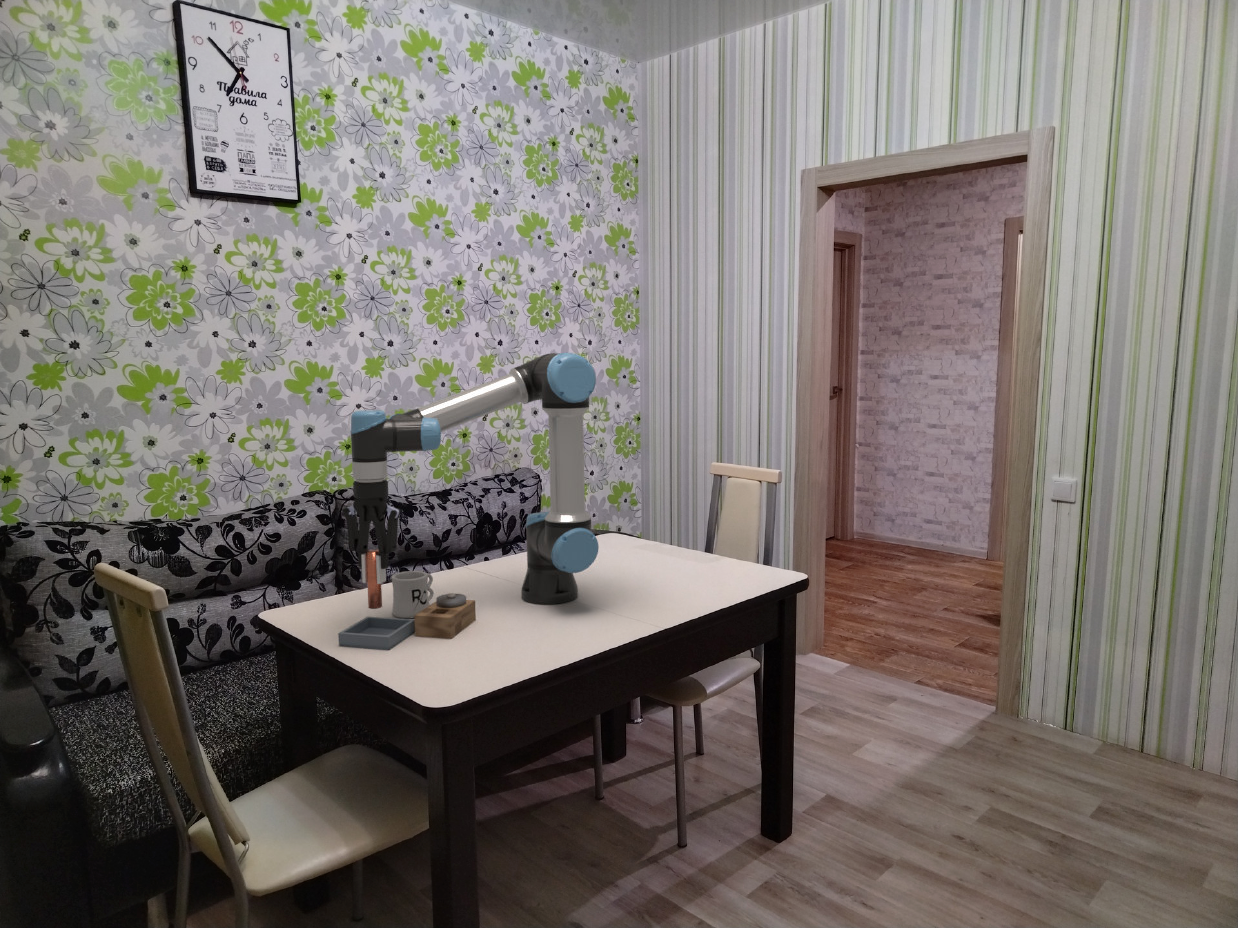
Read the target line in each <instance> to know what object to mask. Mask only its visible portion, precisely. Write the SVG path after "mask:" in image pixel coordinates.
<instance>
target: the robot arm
mask: <svg viewBox="0 0 1238 928" xmlns="http://www.w3.org/2000/svg"><path fill="white" fill-rule="evenodd" d="M596 384H597V377H596V372H595V369H594V367H593V365H592V364H591V362H589V360H588V359H586V358H585V357H584V356H581V355H579V354H576V353H573V352H562V353H561V352H560V353H559V352H558V353H557V352H556V353H555V352H553V353H551V352H550V353H547V354H546V353H545V354H543V355H540V356H538V357H536V358H533V359H532V360H530V361H527V362H525V363H523V364H521V365H517V366H516V367H513V368H510V371H508V374H505V375H503V376H500V377H498V378H494V379H492V380H490V381H489V380H488V381H487V382H485V383H482V384H478V385H477V386H476V385H475V386H473V387H470V388H469V389H468V388H467V389H466V390H463V391H460V392H458V393H455V394H452V395H449V396H447V397H444V398H442V399H438V400H436V401H433V402H430V403H428V404H425V405H422V406H420V407H417V408H415V409H412V410H410V411H406V412H404V413H403V412H402V413H397V414H393V415H391V416H389V417H388V418H387V416H386V412H385V411H384V410H372V409H371V410H370V409H366V410H357V411H356V410H355V411H354V412H353V413H351V417H350V431H349V433H350V442H351V443H350V444H351V445H350V446H351V458H352V460H351V462H352V463H351V464H352V466H351V469H352V470H351V471H352V479H353V480H354V481H353V482H352V489H353V498H354V501H353V502H352V505H350V506H348V507H344V508H343V509H342V513H343V516H344V517H345V519H346V521H345V522H346V528H347V529H346V530H347V539H348V545H349V550H350V551H353V552H355V553H356V554H357V556H358V567H359V568H360V569H361V578H362V579H361V580H362V584H366V583H367V559H366V551H368V550H370V549H369V539H370V538H369V537H370V529H371V528H370V526H371V523H372V525H373V527H374V530H375V538H376V543H377V550H379V553H378V555H376V568H377V584H381V585H382V584H383V583H385V582H387V570H386V569H388V568H389V565H390V563H389V561H390V560H389V555H390V554H391V553H393V552H395V551H396V550H397V543H398V523H399V518H400V515H401V512H402V510H401V509H400V508H395V507H393V506H391V503H390V502H389V498H388V497H389V481H388V480H387V478H388V476H389V475H388V453H395V452H396V453H397V452H400V453H401V452H427V451H434V450H438V449H439V448H440V446H441V443H442V441H441V440H442V432H444V431H448V430H450V429H453V428H455V427H458V426H460V425H463V424H466V423H469V422H471V421H474V420H476V419H480V418H482V417H484V416H486V415H489V414H492V413H495V412H497V411H499V410H504V409H505V408H507V407H510V406H513V405H515V404H518V403H521V404H524V405H526V404H529V403H531V402H534V401H535V402H536V401H540V400H541V409H542V411H544V413H546V414H547V416H548V446H549V447H548V449H549V452H548V453H549V455H548V456H549V489H550V490H549V492H550V494H549V495H550V499H549V500H550V501H549V502H550V511H541V512H533V513H530V514H528V515H527V517H526V523H525V524H526V525H525V529H526V533H525V534H526V561H527V566H526V567H527V568H526V571H525V573H526V574H525V577H524V579H523V583H522V586H521V592H520V593H521V599H522V600H523V601H525V602H528V603H531V604H537V605H538V604H540V605H556V604H562V603H567V602H568V603H569V602H571V601H574V600H575V599H577V598H578V596H579V588H578V584H577V581H576V578H575V575H574V574H576V573H581V572H583V571H585V570H587V569H588V568H590V567H591V566H592V564H594V562H595V561H596V558H597V557H598V554H599V548H600V547H599V541H598V539H597V537H596V534H594V533H593V532H592V517H591V514H589V513H588V512H587V511H586V508H585V507H586V505H585V504H586V503H585V499H586V497H585V493H586V492H585V454H584V453H585V450H584V449H585V447H584V445H585V442H584V437H585V435H584V434H585V433H584V415H585V413H587V411H589V409H590V396H591V395H592V393H594V391H595V387H596ZM386 514H387V517H388V518H387V524H385V523H386V517H385V516H386ZM357 515H358V516H359V517H357ZM358 525H359V526H358ZM386 525H387V528H386Z"/></svg>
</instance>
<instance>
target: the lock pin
mask: <svg viewBox="0 0 1238 928" xmlns="http://www.w3.org/2000/svg"><path fill="white" fill-rule="evenodd" d="M378 553H379V549H369V550H368V551H366V559H367V602H368V603H367V605H368V607H367V608H368V609H371V610H376V609H380V608H383V596H382V595H383V593H382V590H383V589H382V583H381V584H377V568H376V555H378Z"/></svg>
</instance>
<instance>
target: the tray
mask: <svg viewBox="0 0 1238 928" xmlns="http://www.w3.org/2000/svg"><path fill="white" fill-rule="evenodd" d="M412 635H415V619H413V618H398V617H396V618H395V617H381V616H369V615H368V616H366V617H364V618H362V619H360V620H359V621H356V623H354V624H352V625H350V626H348V627H347V628H344V630H342V631H340V632H338V635H337V636H338V646H339V647H344V648H345V647H346V648H358V649H368V650H369V649H370V650H382V651H391V650H392V649H393V648H395V647H396V646H398V645H399V644H400V643H403V642H404V641H405V640H407V639H408V638H410V637H411V636H412Z"/></svg>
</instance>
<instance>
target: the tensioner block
mask: <svg viewBox="0 0 1238 928" xmlns="http://www.w3.org/2000/svg"><path fill="white" fill-rule="evenodd" d="M435 600H436V601H435V602H433V603H431V604H429V606H428V607H427V608H425V609H423V610H422V611H420V612H419V613H417V614H416V615H414V617H415V618H414V620H415V633H414V637H419V638H435V639H444V640H445V639H448V640H452V639H453V638H455V637H456V636H457V635H458V634H460V633H461V632H462V631H463V630H465V629H466V628H467V627H469V626H470V625H472V624H473V623H474V622H475V621H476V620H477V619H476V618H477V617H476V616H477V615H476V600H474V599H467V596H466V595H465V594H463V593H454V592H453V593H452V592H450V593H446V594H441V595H438V596H437V597H436V599H435Z"/></svg>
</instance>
